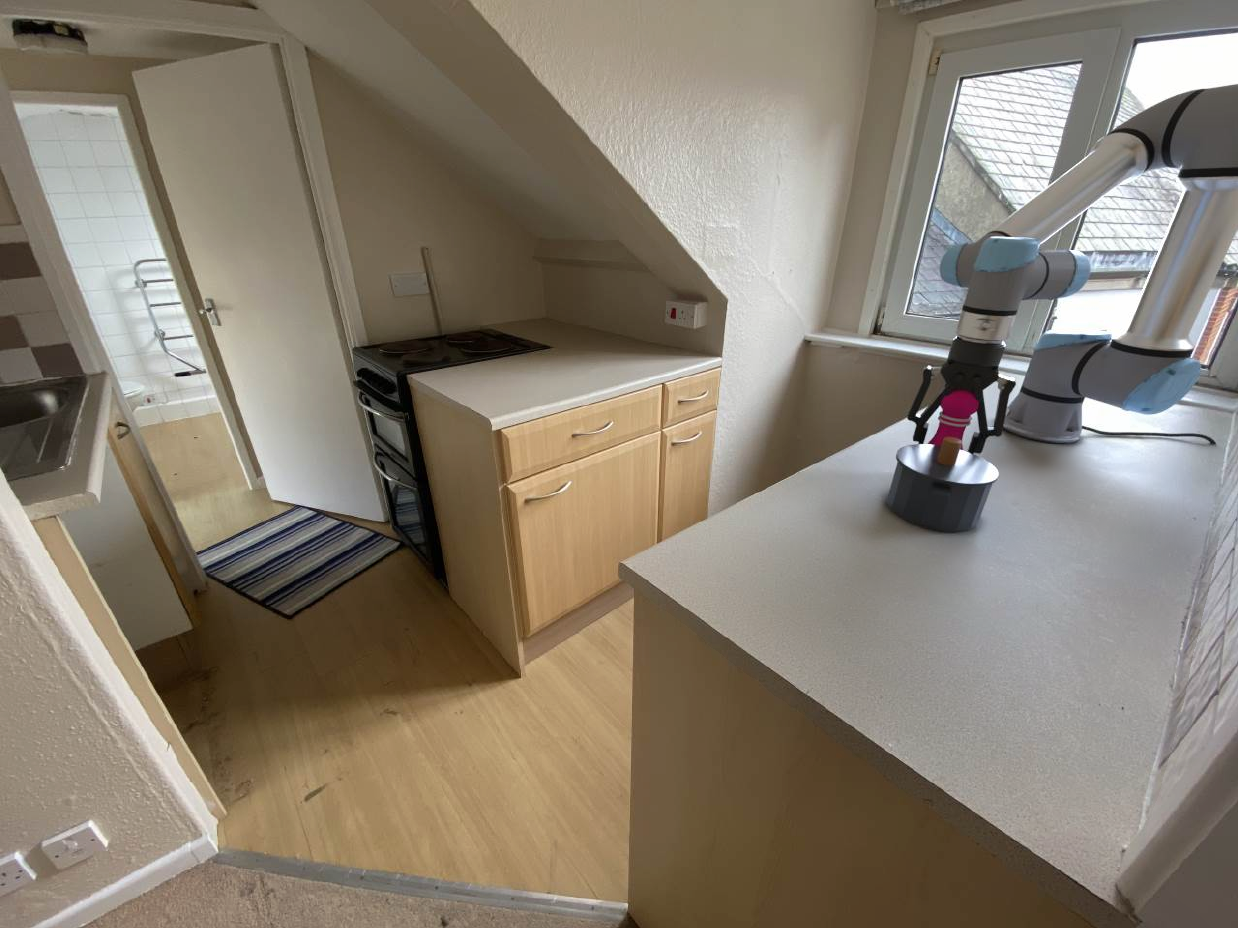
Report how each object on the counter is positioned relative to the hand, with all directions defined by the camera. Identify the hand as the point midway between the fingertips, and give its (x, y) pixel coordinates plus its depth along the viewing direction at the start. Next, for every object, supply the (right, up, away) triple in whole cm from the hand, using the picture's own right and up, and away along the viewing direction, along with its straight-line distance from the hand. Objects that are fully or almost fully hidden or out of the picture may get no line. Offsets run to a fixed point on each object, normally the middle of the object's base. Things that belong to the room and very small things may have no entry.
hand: (940, 462), depth 98 cm
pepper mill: (0, -4, +2) cm, 4 cm away
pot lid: (-6, -1, -11) cm, 13 cm away
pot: (-6, -8, -7) cm, 13 cm away
